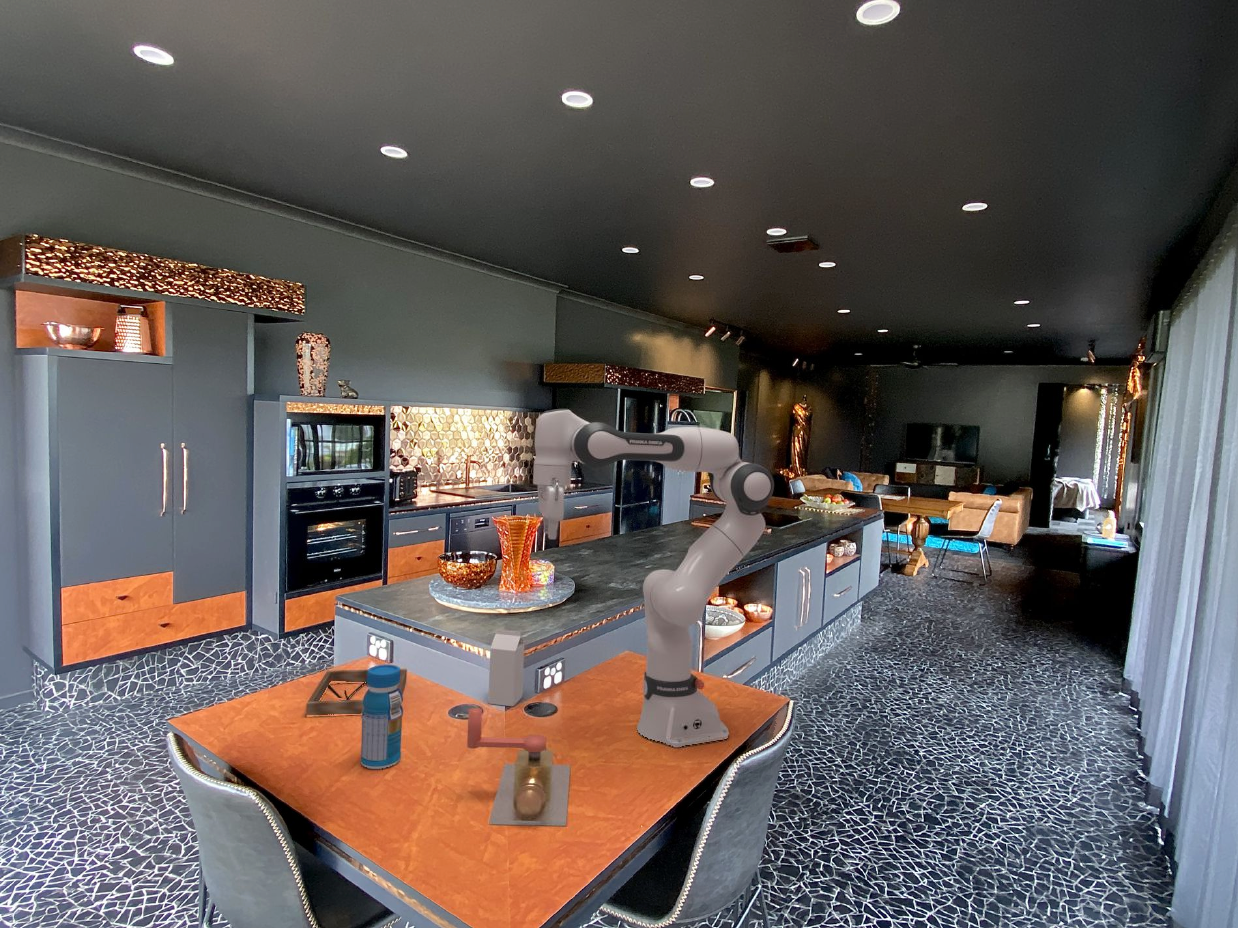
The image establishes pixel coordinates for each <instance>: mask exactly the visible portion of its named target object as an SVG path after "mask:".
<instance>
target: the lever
mask: <svg viewBox="0 0 1238 928" xmlns="http://www.w3.org/2000/svg"><path fill="white" fill-rule="evenodd" d="M467 715H468V716H467V738H466V739H467V740H466V741H467V742H466V746H467V748H469V749H477V748H497V749H498V748H501V749H504V748H508V749H510V748H511V749H512V748H513V749H523V750H526V751H528V752H541V751H544V750H545V749H546V748H547V738H546V737H545V736H544V735H541V734H530V735H527V736H525V737H524V738H523V737H495V736H494V737H491V736H490V737H488V736H486V737H485V736H482V721H483V720H482V719H483V717H482V716H483V709H482V708H480V707H471V708H469V709H468V714H467Z"/></svg>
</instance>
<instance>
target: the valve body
mask: <svg viewBox="0 0 1238 928" xmlns="http://www.w3.org/2000/svg"><path fill="white" fill-rule="evenodd" d="M553 762H554V750H551V749H548V748H547V747H546V749H545V750H544V751H541V752H528V751H526V750H524V749H518V751H517V755H516V759H515V763H504V766H503V769H502V773H501V775H500V780H499V783H498V786H497V791H496V794H495V796H494V797H495V798H494V801H493V804H492V809H491V812H490V816H489V819H488V820H489V821H488V825H501V826H502V825H503V826H510V825H511V826H548V827H550V826H553V827H555V826H556V827H558V826H559V827H566V826H567V818H568V803H569V789H570V776H571V775H570V772H571V765H570V764H553Z"/></svg>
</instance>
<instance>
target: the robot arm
mask: <svg viewBox="0 0 1238 928" xmlns="http://www.w3.org/2000/svg"><path fill="white" fill-rule="evenodd" d="M534 433H535V434H534V449H535V458H534V461H533V472H532V473H533V476H532V477H533V478H532V484H533V485H536V486H537V499H538V501H537V503H538V511H539V513H540V514H541V515H542V520H543V533H544V534H547V538H548V539H549V540H556V539H557V536H558V533H557V532H558V527H559V522H562V521H563V520H564V517H565V516H564V515H565V512H564V511H565V492H566V487H569V486H571V485H572V465H573V464H572V463H573V462H579V463H580V464H584V465H587V466H588V467H590V468H591V467H592V468H603V467H607V466H609V465H611V464H613V463H616V462H618V461H648V462H650V461H651V462H656V463H660V464H661V465H664V467H666V468H667V469H668V468H669V469H672V470H676V471H682V472H692V473H695V472H696V473H699V472H700V473H702V472H703V473H707V475H708V478H709V486H710V490H711V493H712V494H713V495H714V497H715V498H716V499H718V500H719V501H721V502H723V503H726V504H725V508H724V510H723V513H722V514H721V516H720V517H719V518H718V519H717V520H715V522H714V523H713V524H712V525H711V526H710V527H709V528H708V529H706V531H704V533H702V534H701V536H699V538H697V540H695V542H693V543H692V544H691V545H690V546H689V548H688V550H687V554H686V556H685V557H684V559H683V560H682V562H681V563H680V565H679V566H678V567H677V568H676V570H675V571H674V570H671V569H664V568H663V569H656V570H653V571H652V572H650V573H649V574H648V575H647V576H646V577H645V579H644V581H643V584H642V593H643V599H644V617H645V630H646V641H647V642H646V665H645V666H646V667H645V668H646V670H645V671H644V675H643V676H644V678H643V683H642V684H643V686H642V692H643V693H642V694H643V703H642V709H641V714H640V717H639V721H638V724H637V726H636V731H637V730H638V731H637V732H638V733H640V734H639V735H641V736H642V735H643V736H644V737H643V736H642V737H643V738H645V737H647V738H648V740H650V739H652V740H651V741H653V740H655V741H654V742H657V741H660V742H659V743H661V742H663V743H662V744H665V743H666V744H665V745H667V746H669V745H671V746H670V747H672V746H673V747H672V748H682V746H684V747H686V746H685V745H690V746H693V745H692V744H695V743H703V742H707V741H715V740H718V739H725V738H727V737H728V735H729V736H730V732H729V729H728V727H727V726H726V724H725V722H723V721H721V718H720V714H719V710H718V708H717V706H716V704H715V703H714V702H713V701H712V700H710V698H709V697H707V696H706V694H704V693H702V692H701V691H700V690H703V689H704V688H705V682H704V681H703V680H702V679H700V678H698V677H697V676H696V675H694V674H693V673H692V660H693V659H692V658H693V656H692V655H693V642H692V637H691V634H690V629H689V628H690V626H691V627H692V626H693V625H695V624H696V623H697V622H699V620H701V618H702V616H703V615H704V612H705V609H706V605H707V602H708V601H709V599H710V598H711V596H712V595H713V593H714V591H715V590H716V589H717V587H718V585H719V584H720V583H721V582H722V581H723V579H724V578H725V576H727V574H729V572H731V570H732V569H733V568H735V566H736V565H737V564H738V563H739V562H740V561H742V559H743V558H744V557H745V556H746V555H748V553H750V551H751V550H752V548H753V547H754V546H755V545H756V543H757V542H758V540H759V539H760V538H761V536H762V534H763V533H764V532H765V530H766V520H765V517H764V516H763V514H762V513H763V512H765V511H766V509H767V506H768V503H769V502H770V500H771V498H772V496H773V494H774V488H775V481H774V478H773V475H772V474H771V472H770V471H769V470H768V469H767V468H765V467H764V466H762V465H760V464H758V463H754V462H753V463H751V462H746V461H743V460H742V459H741V457H740V455H739V453H740V449H739V448H740V447H739V442H738V440H737V438H736V436H734V435H733V434H732V433H731V432H727V431H724V430H720V429H717V428H710V427H702V426H701V427H700V426H679V427H678V426H677V427H672V428H668V429H666V430H664V431H662V432H657V433H643V432H642V433H641V432H627V431H621V430H619V429H617V428H614V427H613V426H611V425H609V424H607V423H604V422H600V421H599V422H598V421H595V422H589V421H587V420H585V419H583V418H581V417H580V416H577V414H575V413H573V412H572V411H571V410H570V409H568V408H557V409H549V410H545V411H544V412H542V413H540V415H538V417H537V420H536V426H535V432H534ZM647 738H646V739H647ZM703 744H704V743H703Z"/></svg>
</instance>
